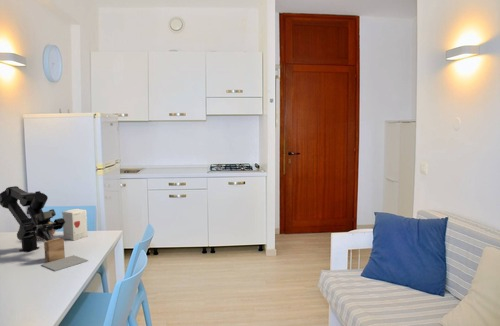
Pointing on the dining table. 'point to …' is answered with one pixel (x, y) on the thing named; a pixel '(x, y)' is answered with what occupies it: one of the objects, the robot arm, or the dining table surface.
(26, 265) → the dining table surface
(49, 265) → the mat
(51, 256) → the walnut block
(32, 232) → the robot arm
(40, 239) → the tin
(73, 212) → the supplement box
